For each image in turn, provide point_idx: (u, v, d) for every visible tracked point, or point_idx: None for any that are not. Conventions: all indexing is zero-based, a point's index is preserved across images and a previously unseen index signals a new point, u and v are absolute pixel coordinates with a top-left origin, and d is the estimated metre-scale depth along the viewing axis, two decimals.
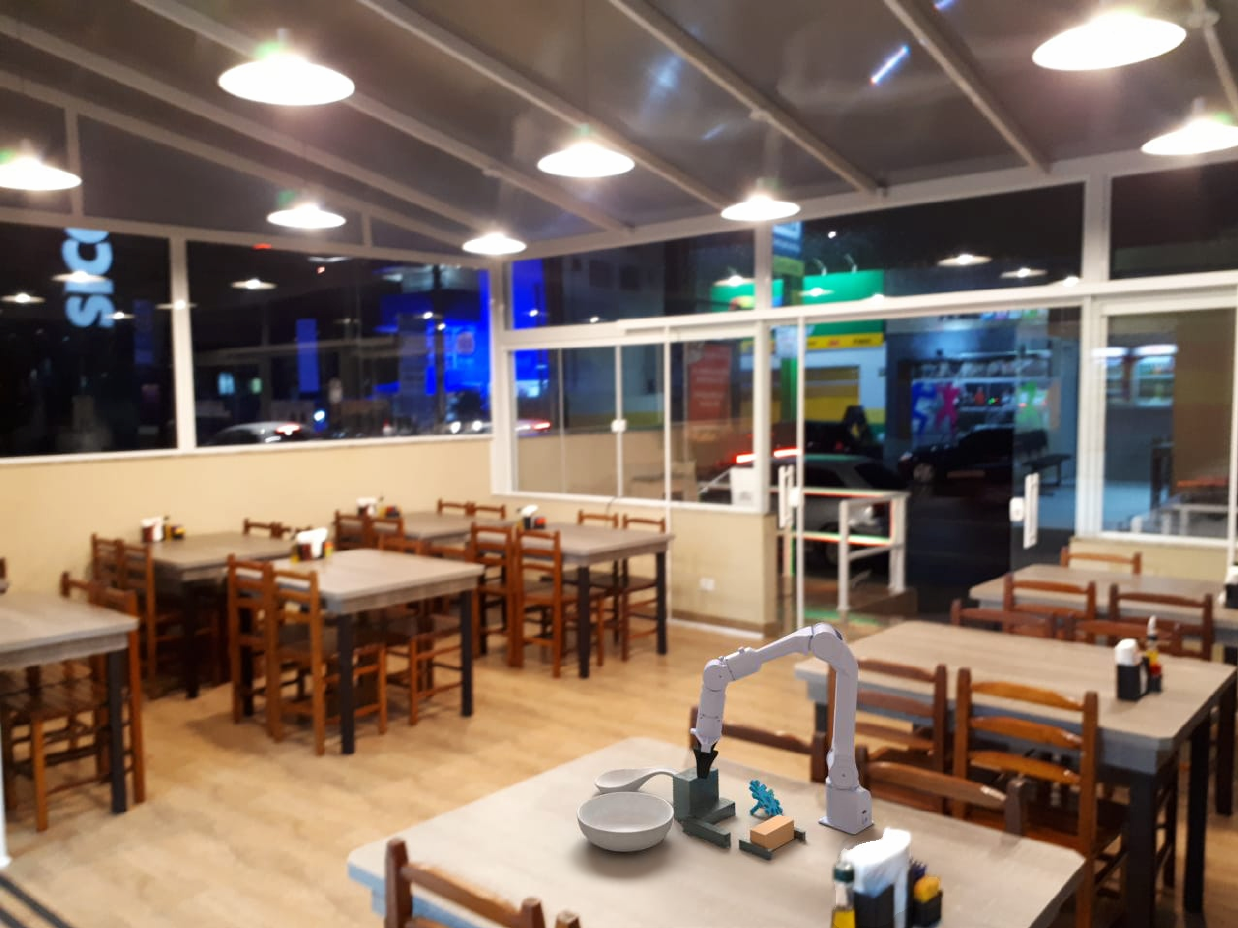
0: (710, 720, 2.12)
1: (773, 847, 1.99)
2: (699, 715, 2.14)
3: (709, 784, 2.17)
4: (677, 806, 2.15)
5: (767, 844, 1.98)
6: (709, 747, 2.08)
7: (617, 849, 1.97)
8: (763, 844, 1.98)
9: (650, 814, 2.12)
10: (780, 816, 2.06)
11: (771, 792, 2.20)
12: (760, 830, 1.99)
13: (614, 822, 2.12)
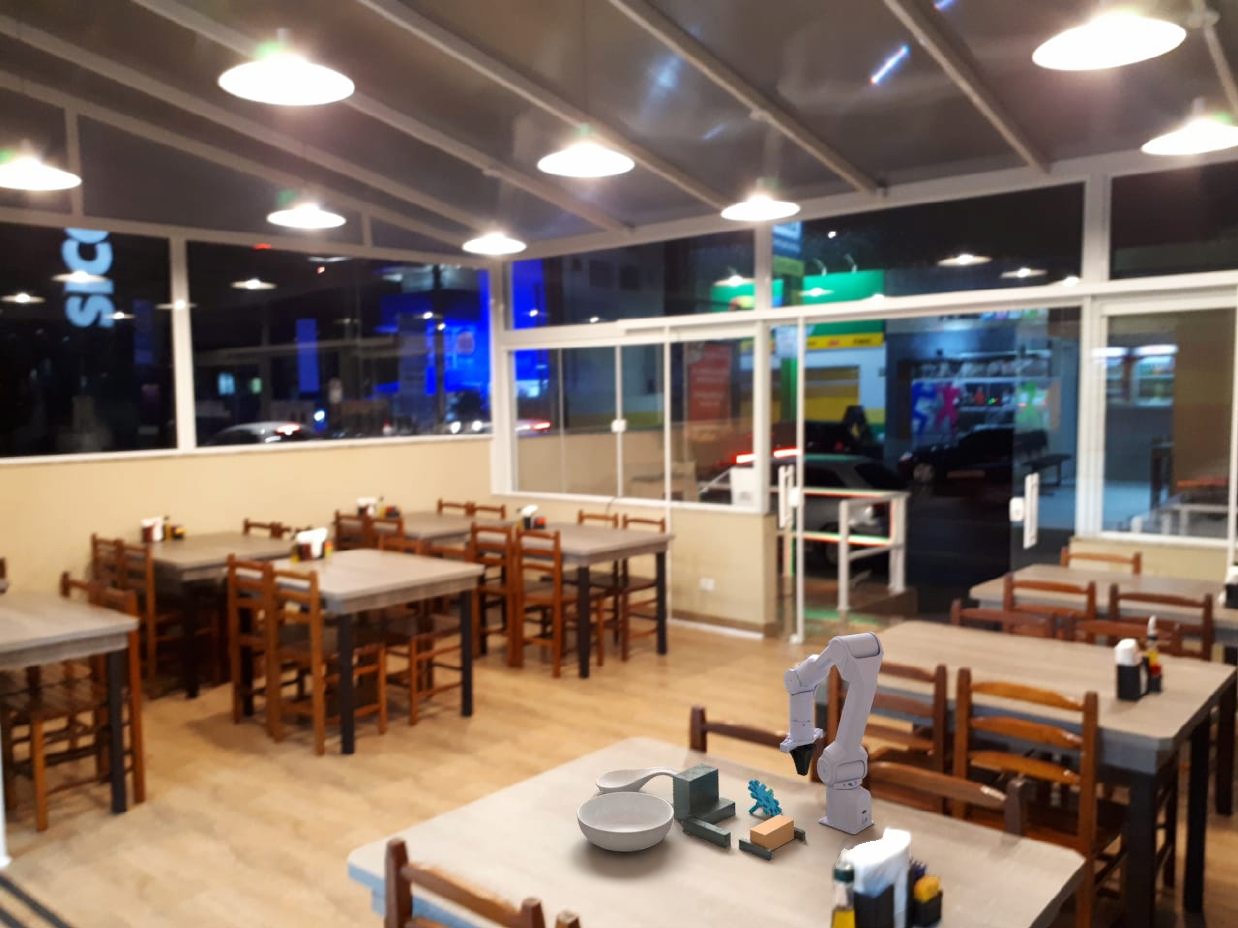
0: (794, 723, 2.24)
1: (773, 847, 1.99)
2: (789, 719, 2.26)
3: (709, 784, 2.17)
4: (677, 806, 2.15)
5: (767, 844, 1.98)
6: (785, 748, 2.20)
7: (617, 849, 1.97)
8: (763, 844, 1.98)
9: (650, 814, 2.12)
10: (780, 816, 2.06)
11: (771, 792, 2.20)
12: (760, 830, 1.99)
13: (614, 822, 2.12)
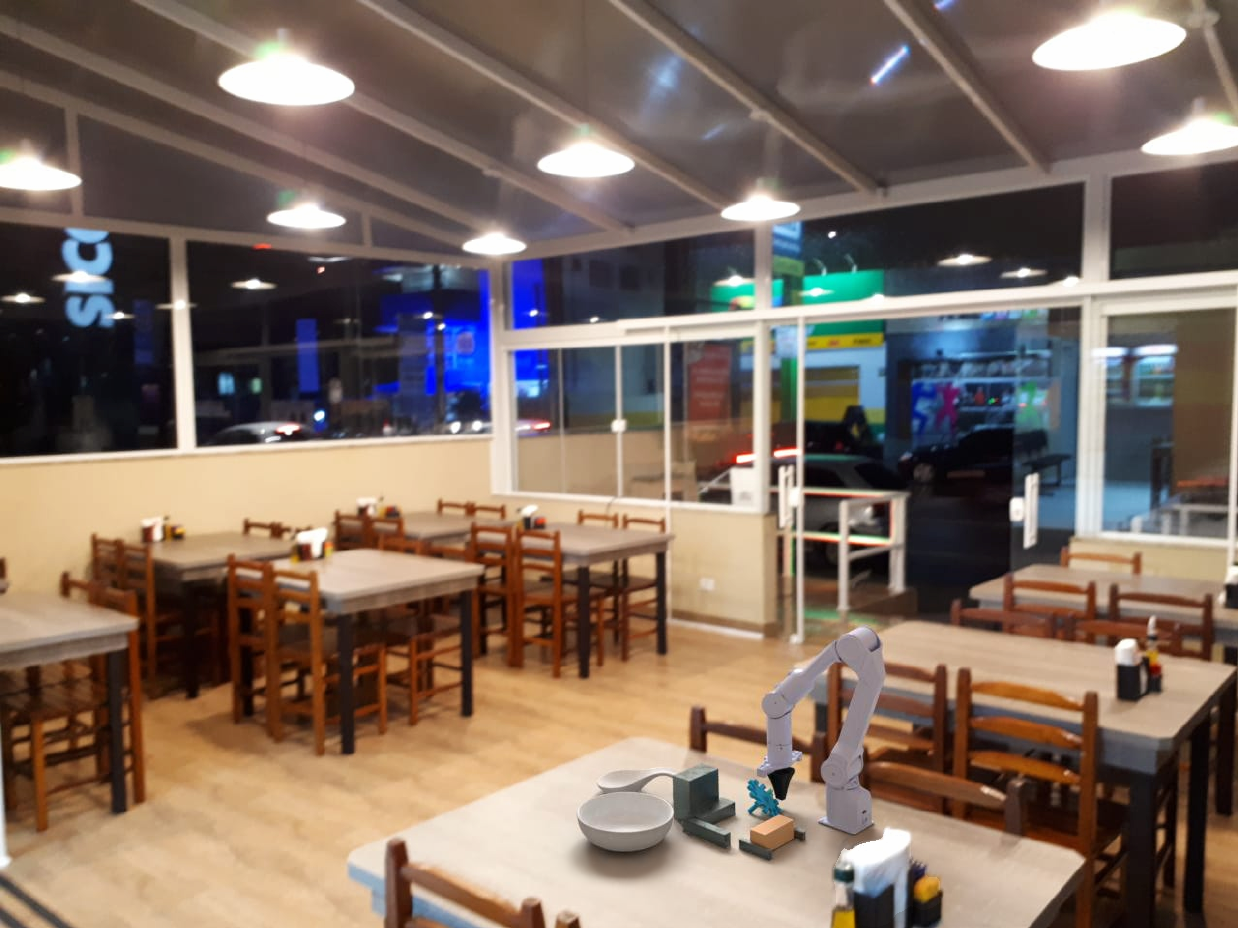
0: (772, 747, 2.18)
1: (773, 847, 1.99)
2: None
3: (709, 784, 2.17)
4: (677, 806, 2.15)
5: (767, 844, 1.98)
6: (762, 772, 2.15)
7: (617, 849, 1.97)
8: (763, 844, 1.98)
9: (651, 814, 2.12)
10: (780, 816, 2.06)
11: (770, 792, 2.20)
12: (760, 830, 1.99)
13: (614, 822, 2.12)
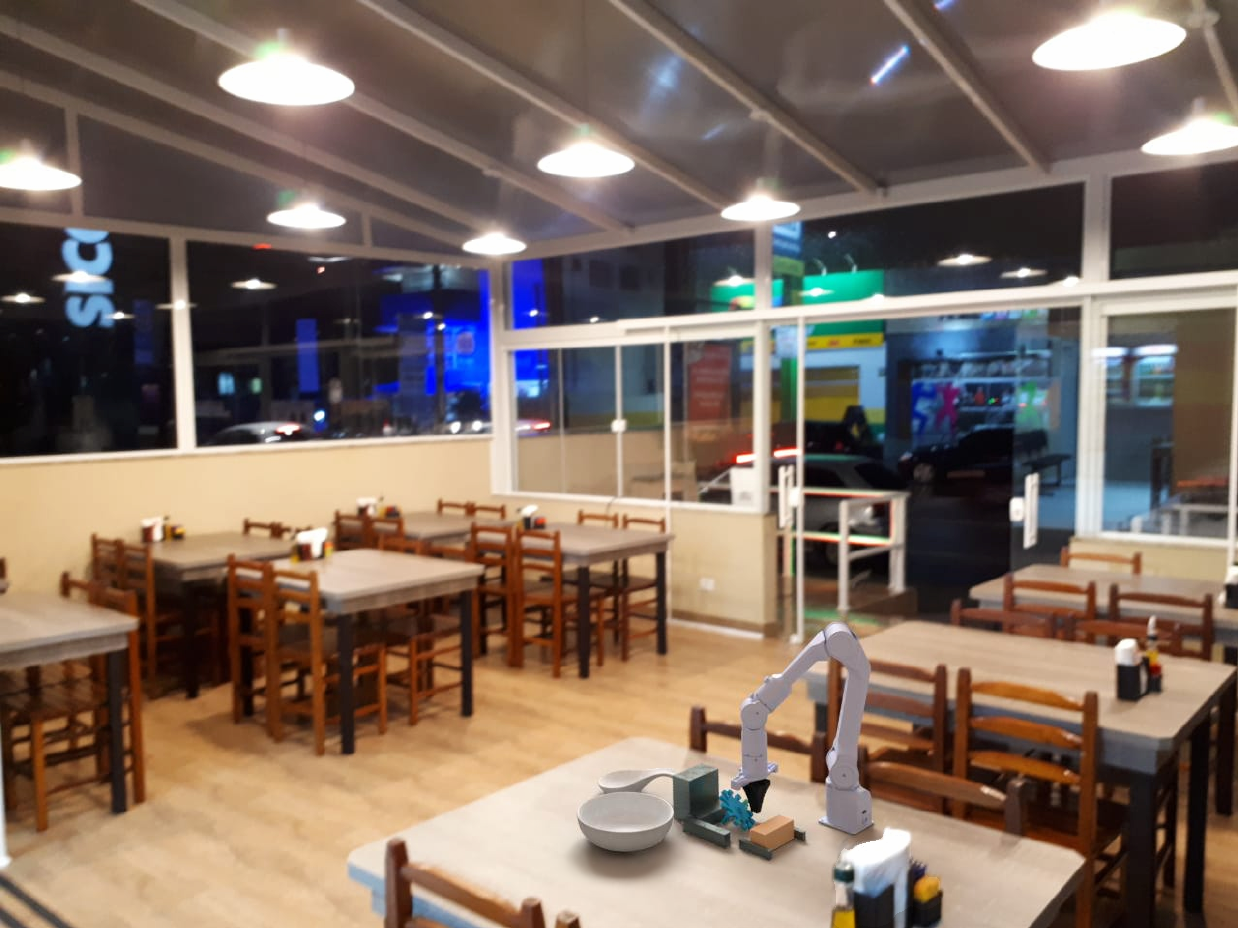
0: (746, 758, 2.11)
1: (773, 847, 1.99)
2: None
3: (709, 784, 2.17)
4: (677, 806, 2.15)
5: (767, 844, 1.98)
6: (736, 785, 2.08)
7: (617, 849, 1.97)
8: (763, 844, 1.98)
9: (651, 814, 2.12)
10: (780, 816, 2.06)
11: (745, 803, 2.15)
12: (760, 830, 1.99)
13: (614, 822, 2.12)
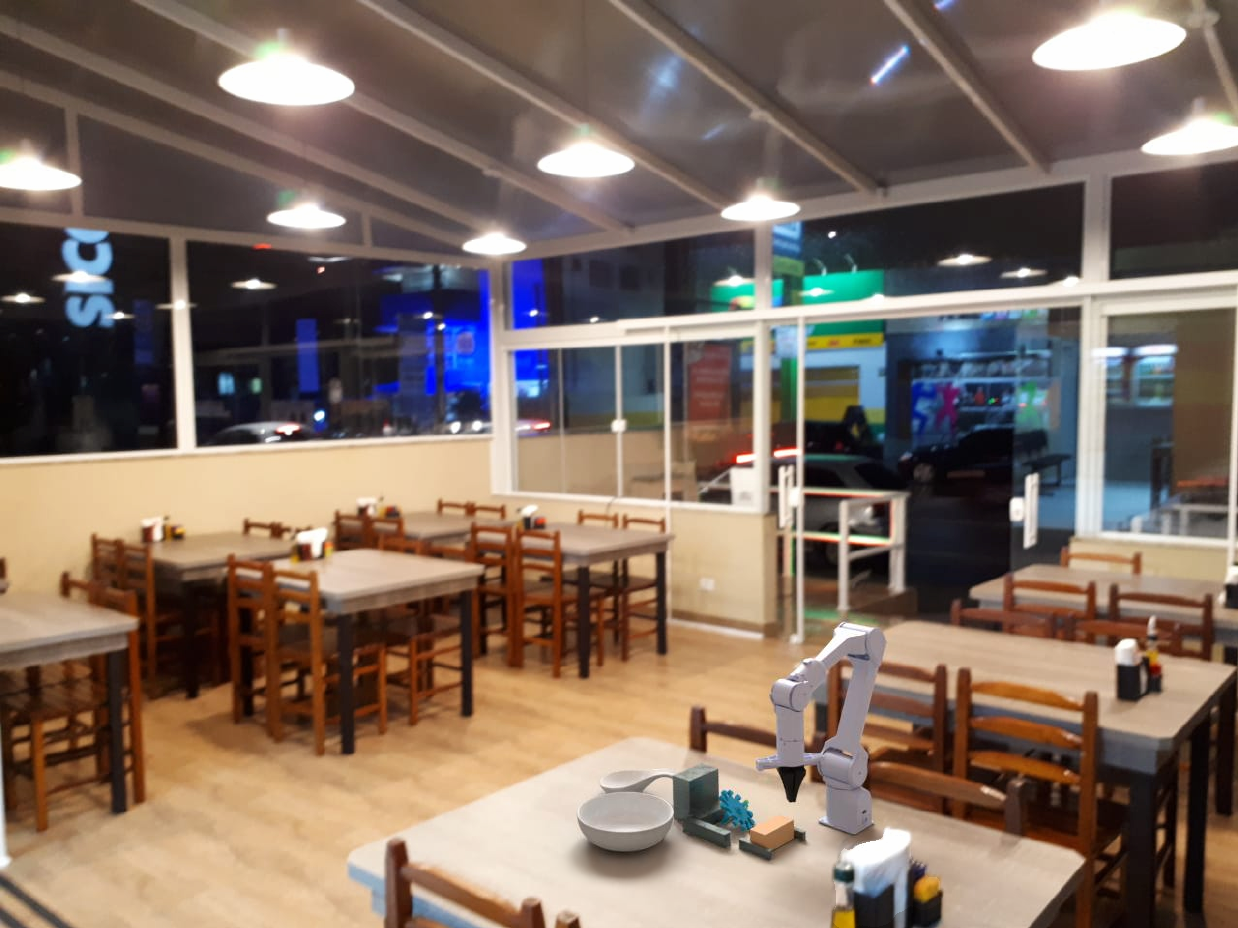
0: (777, 741, 1.99)
1: (773, 847, 1.99)
2: None
3: (709, 784, 2.17)
4: (677, 806, 2.15)
5: (767, 844, 1.98)
6: (758, 765, 1.98)
7: (617, 849, 1.97)
8: (763, 844, 1.98)
9: (650, 814, 2.12)
10: (780, 816, 2.06)
11: (745, 803, 2.15)
12: (760, 830, 1.99)
13: (614, 822, 2.12)
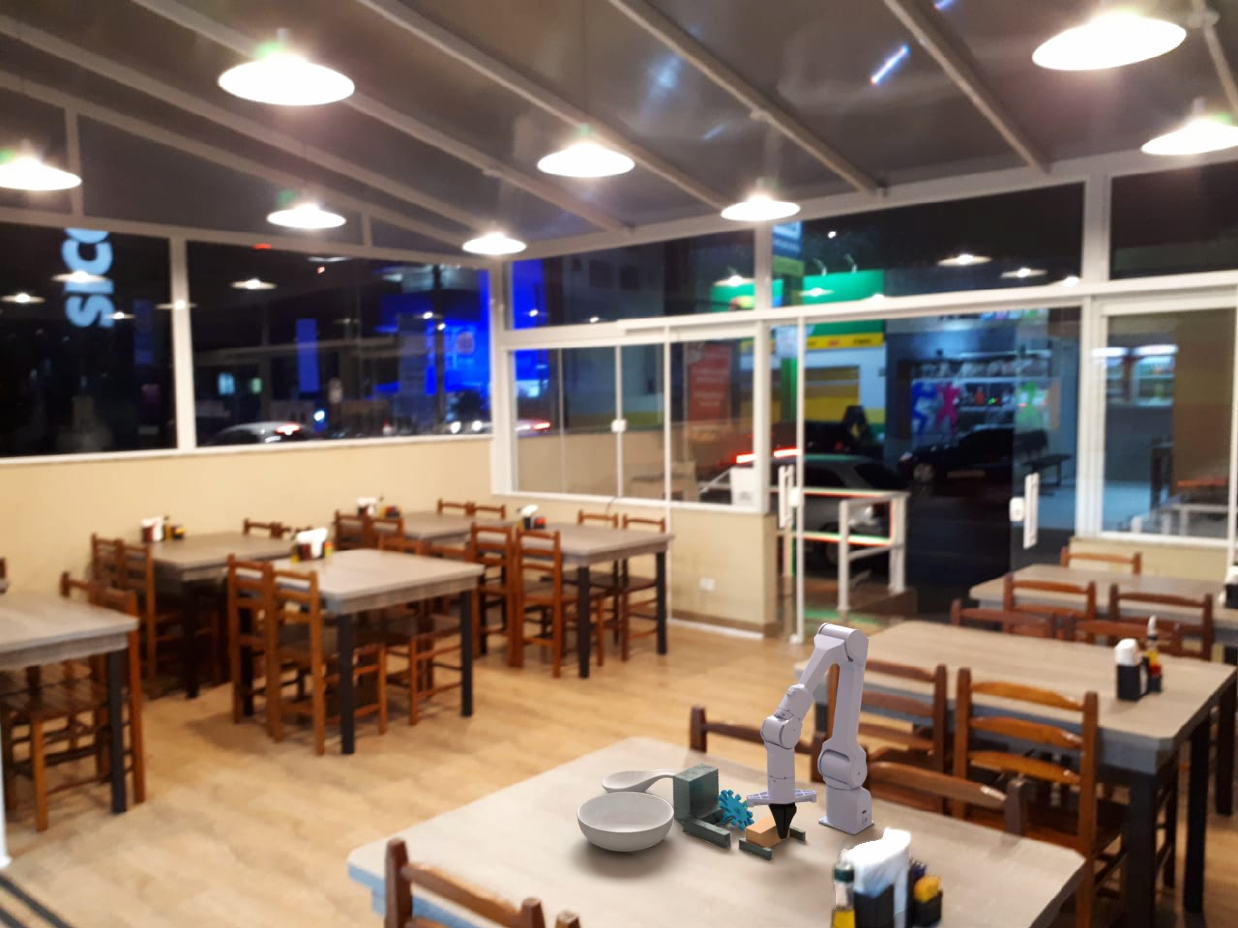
0: (768, 777, 1.99)
1: (768, 845, 2.00)
2: None
3: (709, 784, 2.17)
4: (677, 806, 2.15)
5: (762, 843, 1.99)
6: (748, 801, 1.98)
7: (617, 849, 1.97)
8: (758, 842, 1.98)
9: (650, 814, 2.12)
10: None
11: (745, 803, 2.15)
12: (756, 829, 2.00)
13: (614, 822, 2.12)
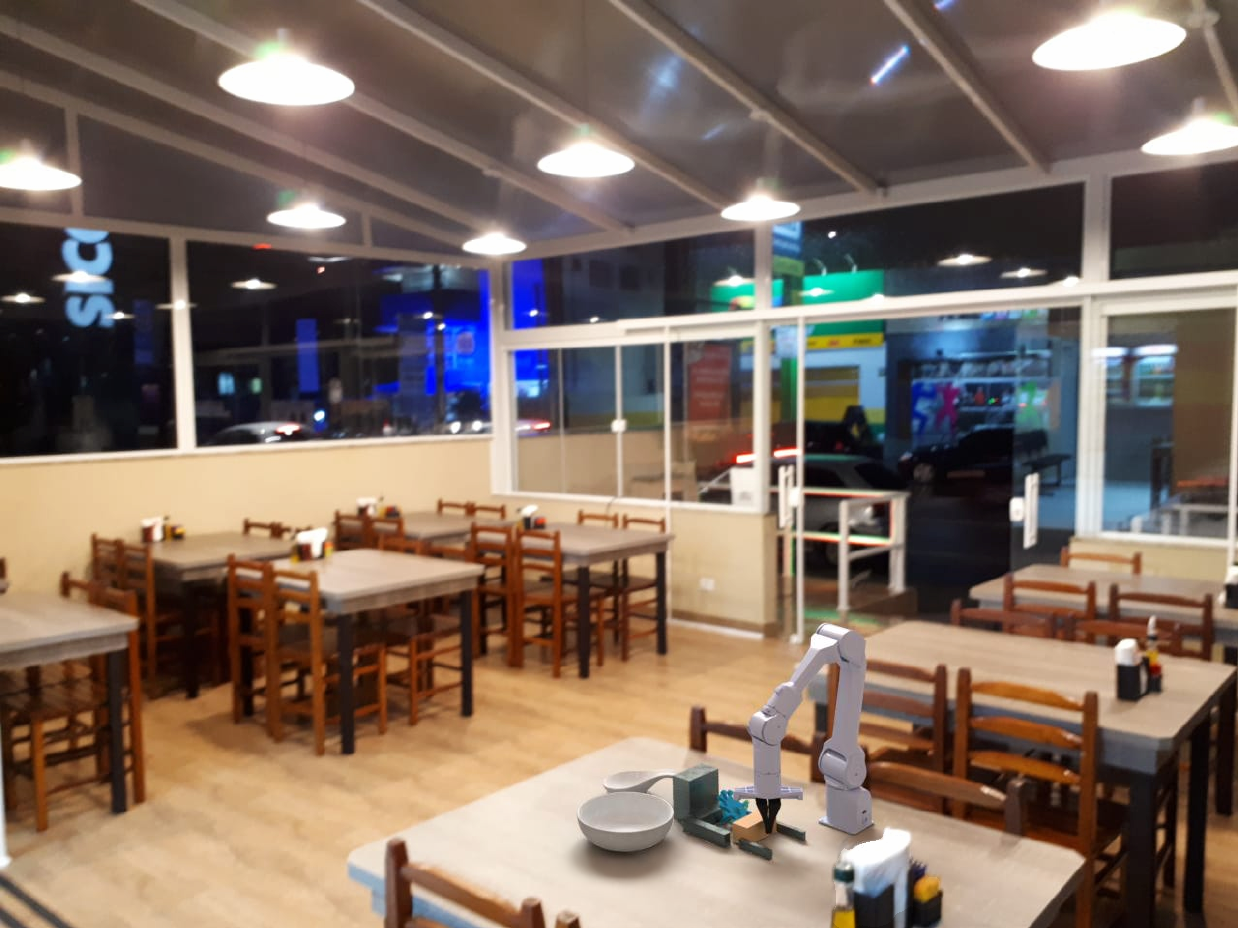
0: None
1: (755, 840, 2.03)
2: None
3: (709, 784, 2.17)
4: (677, 806, 2.15)
5: (749, 837, 2.01)
6: (733, 794, 2.02)
7: (617, 849, 1.97)
8: (745, 837, 2.01)
9: (650, 814, 2.12)
10: None
11: (745, 803, 2.15)
12: (742, 824, 2.03)
13: (614, 822, 2.12)
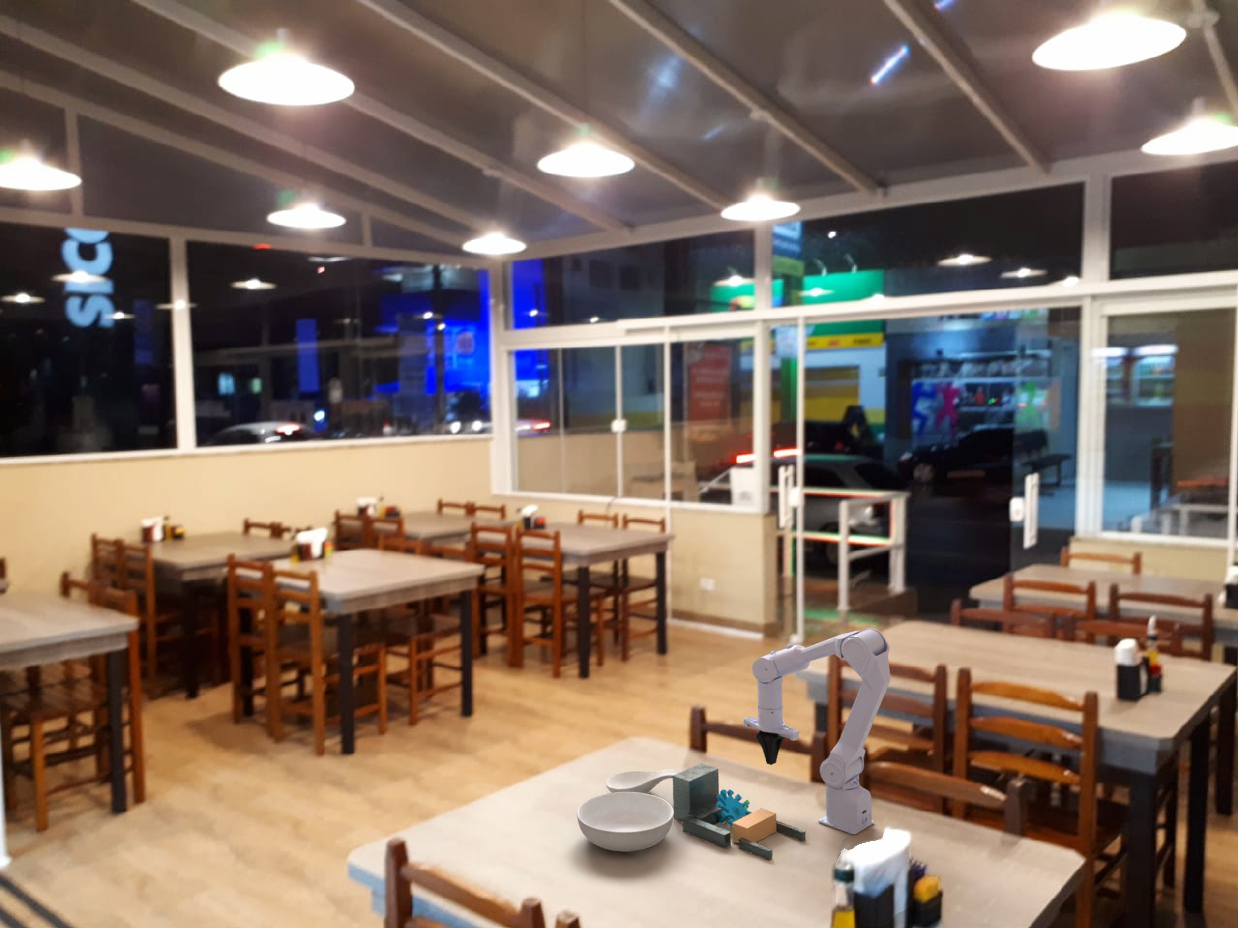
0: None
1: (755, 840, 2.03)
2: None
3: (709, 784, 2.17)
4: (677, 806, 2.15)
5: (749, 837, 2.01)
6: None
7: (617, 849, 1.97)
8: (745, 837, 2.01)
9: (650, 814, 2.12)
10: (763, 810, 2.09)
11: (745, 803, 2.14)
12: (743, 824, 2.03)
13: (614, 822, 2.12)
